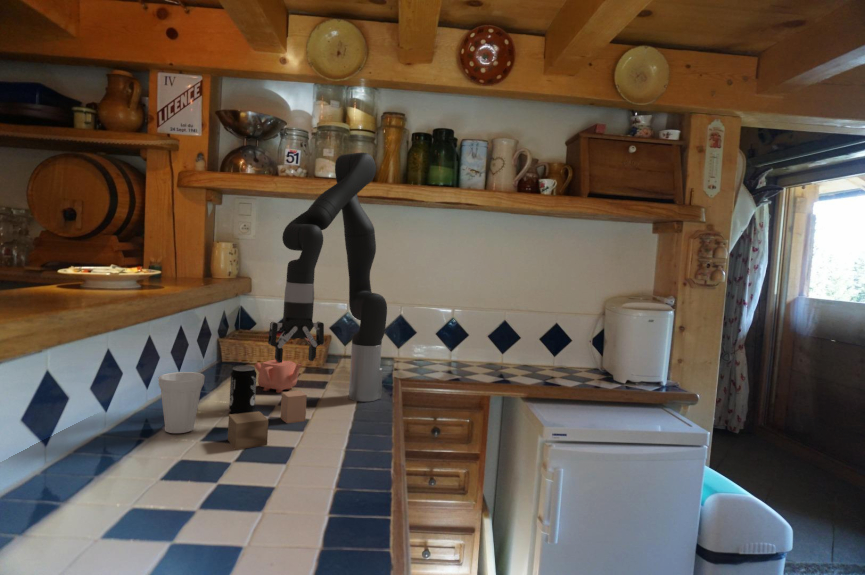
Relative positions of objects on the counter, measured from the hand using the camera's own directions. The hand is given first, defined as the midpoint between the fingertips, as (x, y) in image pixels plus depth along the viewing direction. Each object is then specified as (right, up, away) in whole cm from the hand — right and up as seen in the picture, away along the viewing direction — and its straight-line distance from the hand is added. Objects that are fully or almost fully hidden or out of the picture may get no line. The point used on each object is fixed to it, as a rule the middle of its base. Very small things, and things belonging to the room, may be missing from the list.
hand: (295, 361), depth 137 cm
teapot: (-13, -13, +30) cm, 35 cm away
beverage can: (-16, -15, +5) cm, 22 cm away
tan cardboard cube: (-1, -16, +1) cm, 16 cm away
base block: (-6, -16, -18) cm, 25 cm away
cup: (-24, -15, -13) cm, 31 cm away
